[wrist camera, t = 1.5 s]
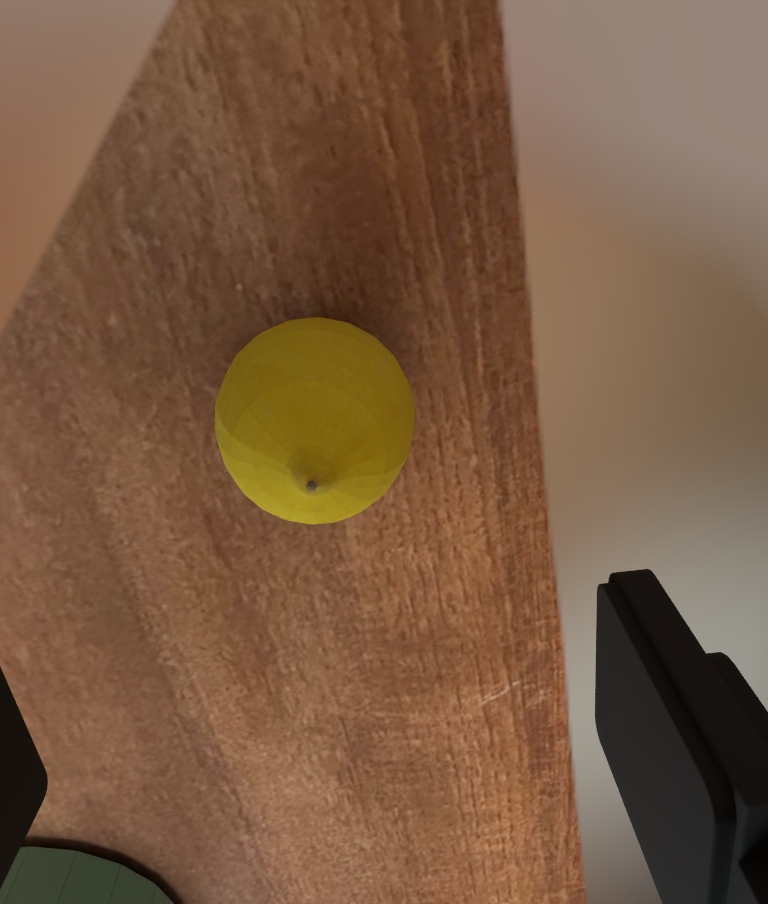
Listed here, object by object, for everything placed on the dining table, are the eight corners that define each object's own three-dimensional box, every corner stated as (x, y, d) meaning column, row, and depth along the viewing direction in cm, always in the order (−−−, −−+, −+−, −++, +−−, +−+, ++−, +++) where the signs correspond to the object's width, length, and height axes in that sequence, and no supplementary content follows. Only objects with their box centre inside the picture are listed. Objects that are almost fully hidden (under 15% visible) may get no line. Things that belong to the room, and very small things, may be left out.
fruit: (281, 258, 22) (243, 326, 14) (436, 339, 23) (473, 439, 16) (212, 407, 24) (149, 532, 16) (358, 473, 25) (359, 617, 18)
